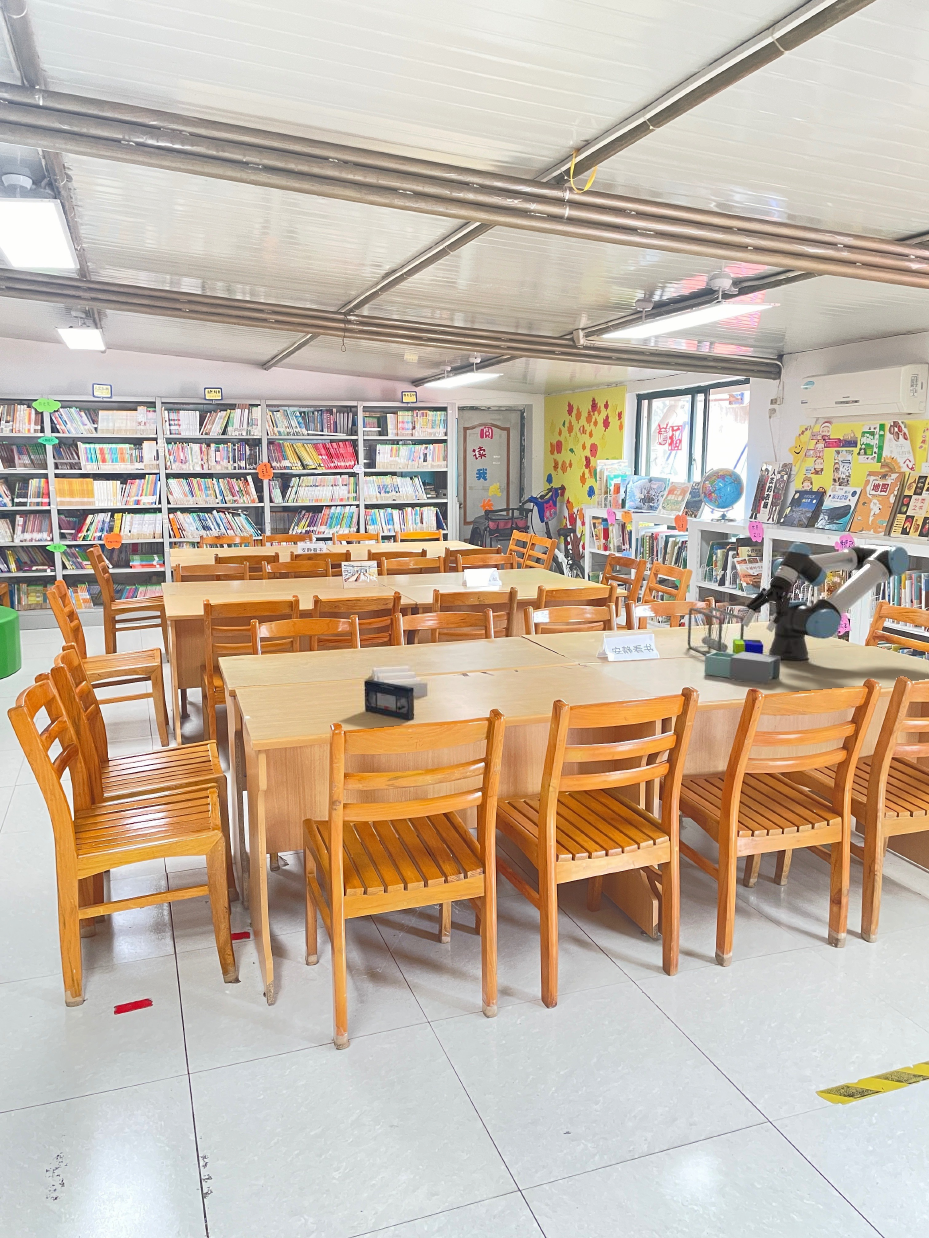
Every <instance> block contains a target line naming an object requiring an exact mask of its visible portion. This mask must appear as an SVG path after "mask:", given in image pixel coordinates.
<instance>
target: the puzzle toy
mask: <svg viewBox="0 0 929 1238" xmlns="http://www.w3.org/2000/svg"><path fill="white" fill-rule="evenodd" d="M732 644H733V645H732V653H733V654H739V653H741V652H749V653H757V654H764V643H762V641H761V639H744V638H743V639H740V638H739V639H738V638H733V639H732Z"/></svg>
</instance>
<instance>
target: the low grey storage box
mask: <svg viewBox="0 0 929 1238" xmlns="http://www.w3.org/2000/svg"><path fill="white" fill-rule="evenodd" d="M781 660H782V659H781V656H774V655H769V654H764V653H763V654H757V653H749V652H741V653H739V654H737V655H734V656H732V657H731V661H730V678H729V680H732V679H734V680H733V681H739V680H740V681H741V682H747V683H753V684H754V683H755V684H760V685H766V686H767V685H769V684H770V679H769V675H770V663H772V662H774V667H773V678H772V679H777V678H778V679H780V674H781Z"/></svg>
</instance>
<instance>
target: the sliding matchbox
mask: <svg viewBox="0 0 929 1238" xmlns="http://www.w3.org/2000/svg"><path fill="white" fill-rule="evenodd" d="M734 655H737V654H733V652H732V653H730V652H728V653H724V652H718V651H717V650H714V652H711V653H708V655H706V656H705V655H704V657H705V658H704V675H708V676H715V677H721V678H722V677H723V678H729V679H730V661H731V657H732V656H734ZM773 667H774V662H772V663H770V675H769V680H771V679H774V678H773Z"/></svg>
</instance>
